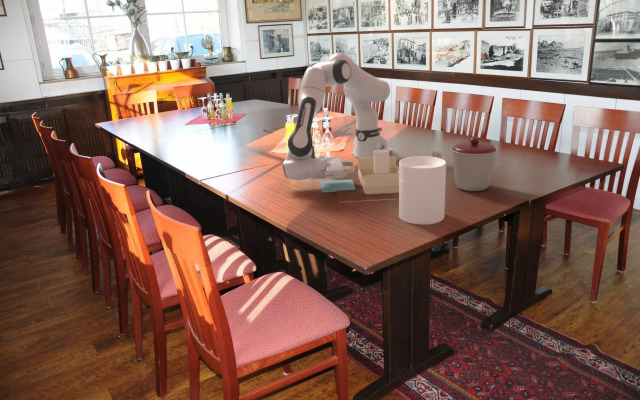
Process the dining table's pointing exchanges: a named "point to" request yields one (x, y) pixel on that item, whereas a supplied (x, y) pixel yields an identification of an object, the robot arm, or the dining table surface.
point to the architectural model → (436, 154)
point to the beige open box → (378, 177)
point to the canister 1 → (422, 189)
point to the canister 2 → (473, 164)
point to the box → (381, 161)
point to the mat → (337, 185)
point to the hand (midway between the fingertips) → (353, 166)
